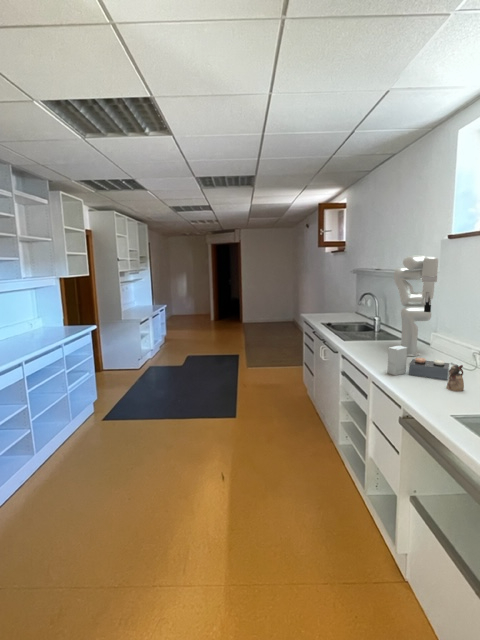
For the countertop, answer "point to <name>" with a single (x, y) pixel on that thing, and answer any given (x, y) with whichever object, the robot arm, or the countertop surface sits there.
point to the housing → (429, 370)
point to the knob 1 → (420, 360)
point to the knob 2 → (439, 362)
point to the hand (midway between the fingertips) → (427, 311)
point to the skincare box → (397, 360)
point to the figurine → (455, 378)
